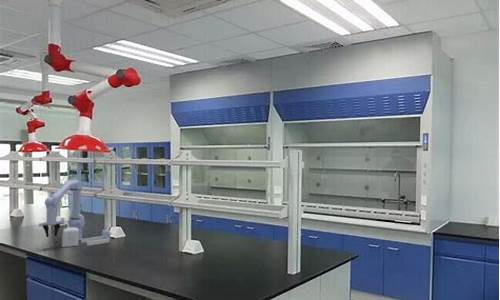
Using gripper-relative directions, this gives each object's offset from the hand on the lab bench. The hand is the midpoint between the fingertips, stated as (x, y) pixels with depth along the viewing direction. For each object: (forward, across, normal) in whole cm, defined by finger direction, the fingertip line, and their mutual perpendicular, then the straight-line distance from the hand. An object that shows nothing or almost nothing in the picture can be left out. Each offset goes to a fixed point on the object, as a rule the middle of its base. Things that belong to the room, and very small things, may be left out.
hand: (51, 236), depth 249 cm
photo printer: (+9, +12, 0) cm, 15 cm away
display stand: (+8, +28, 0) cm, 30 cm away
